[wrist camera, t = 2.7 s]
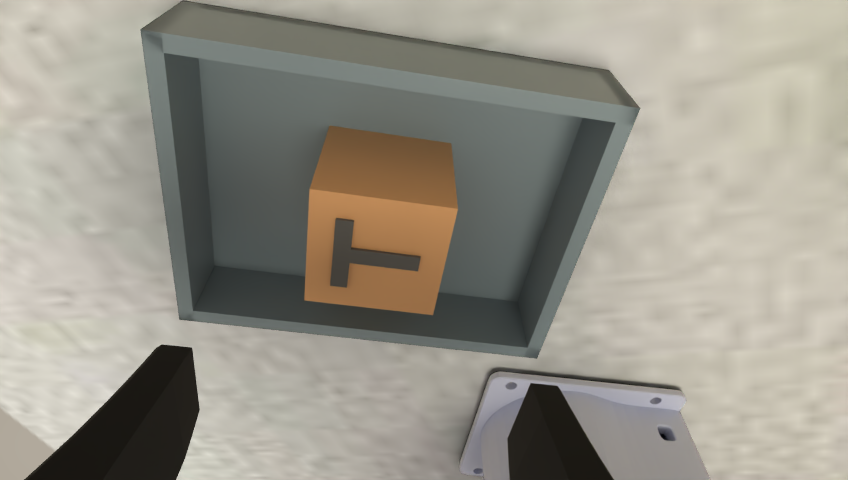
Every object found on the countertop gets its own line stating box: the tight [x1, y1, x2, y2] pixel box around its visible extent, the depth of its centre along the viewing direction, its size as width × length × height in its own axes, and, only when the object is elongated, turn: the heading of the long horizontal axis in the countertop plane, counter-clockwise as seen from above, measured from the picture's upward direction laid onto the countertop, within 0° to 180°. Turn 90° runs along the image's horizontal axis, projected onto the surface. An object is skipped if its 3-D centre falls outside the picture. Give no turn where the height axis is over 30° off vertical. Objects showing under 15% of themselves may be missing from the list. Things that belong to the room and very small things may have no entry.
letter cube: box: [304, 126, 458, 315], centre depth 18 cm, size 4×4×4 cm
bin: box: [140, 1, 640, 358], centre depth 18 cm, size 13×10×3 cm
